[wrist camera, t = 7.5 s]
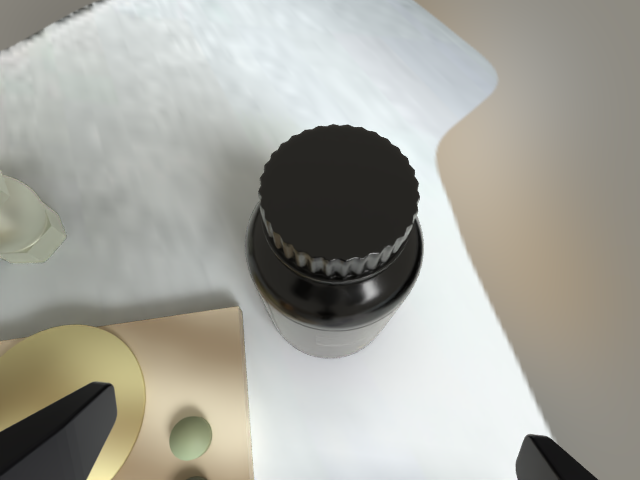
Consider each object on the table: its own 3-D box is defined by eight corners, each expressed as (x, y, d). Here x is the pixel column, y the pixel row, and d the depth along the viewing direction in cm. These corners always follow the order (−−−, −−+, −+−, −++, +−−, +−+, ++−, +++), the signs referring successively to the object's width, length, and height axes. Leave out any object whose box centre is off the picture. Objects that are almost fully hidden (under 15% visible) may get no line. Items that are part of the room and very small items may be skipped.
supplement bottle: (404, 271, 23) (483, 140, 12) (361, 382, 20) (412, 344, 9) (300, 228, 24) (286, 73, 13) (248, 328, 22) (175, 238, 11)
